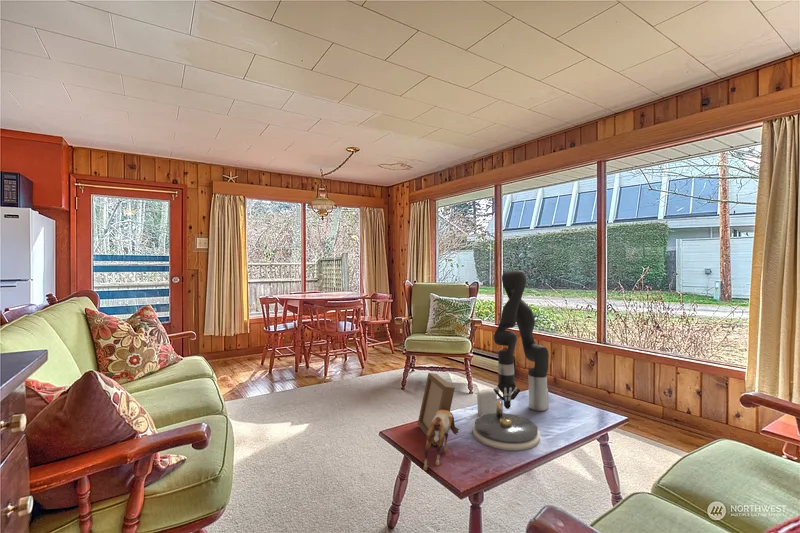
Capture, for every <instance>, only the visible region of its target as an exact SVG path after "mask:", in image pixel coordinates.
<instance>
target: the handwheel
mask: <svg viewBox="0 0 800 533" xmlns="http://www.w3.org/2000/svg"><path fill="white" fill-rule="evenodd" d="M503 407H504V406H503V400H497V401H496V413H493V414H486V415H479V417H477V418H476V419H475V421H474V423H475V429H476V431H477V432H478V433H479V434H481V435H482V436H484V437H486V438H488V439H491V440H494V441H498V442H504V443H523V442H527V441H531V440H533V439H534V438H536V436H537V435H538V430H539V429H538V425H536V423H535V422H533V421H532V420H530V419H529V418H526V417H523V416H521V415H517V414H512V413H505V412H503Z"/></svg>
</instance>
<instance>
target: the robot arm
mask: <svg viewBox="0 0 800 533" xmlns="http://www.w3.org/2000/svg"><path fill="white" fill-rule="evenodd" d="M501 282H502V286H503V288H504V291H505V293H506V295H507V298H508V300H507V301H506V303H505V304H504V306H503V307H502V308H503V309H502V311H501V317H500V322H499V323H498V326H497V327H496V330H495V332H494V334H493V341H494V344H496V345H498V346H504V347H505V346H506V347H507V348H506V349H501V350H499V351H498V352H497V353H498V354H497V356H498V364H497V365H498V366H497V372H498V374H497V377H498V380H497V381H498V383H497V387H496V388H492V389H493V390H494V392H495V393H496V394H497V397H498V398H499V399H500V401H503V407H504V408H505V409H509V410H510V408H511V403H512V402H511V401H512V400H515V399H516V397H517V396H518V395H519V393H520V392H521V389H520V388H519V387H517V386H516V383H515V377H516V376H515V366H514V365H515V364H514V363H515V362H514V353H515V348H516V345H517V341H518V337H517V334H516V333H515V332H514V331H511V330H507V329H513V328H515V326H516V325H517V328H518V330H519V334H520V339H521V342H522V348H523V353H524V355H525V358H526V359H527V360H528V361H531V362H533V363H534V365H533V366H534V367H530V368H529V369H528V373H527V374H528V379H527V380H528V408H529V409H531V410H534V411H540V412H541V411H542V412H544V411H547V410H548V408H549V406H550V405H549V401H550V400H549V389H548V371H549V357H550V354H549V350H548V348H547V347H546V346H544V345H541V344H536V342H535V339H534V335H533V333H534V332H533V331H534V328H535V323H536V320H535V316H534V314H533V310H532V308H531V307H530V305H528V303H527V302H526V301H524V300H523V299H522V297H523V294H524V291H525V288H526V285H527V275H526V273H525V272H524V270H511V271H504V272H503V273H502V274H501ZM500 392H501V393H502V394H501V393H500Z"/></svg>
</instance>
